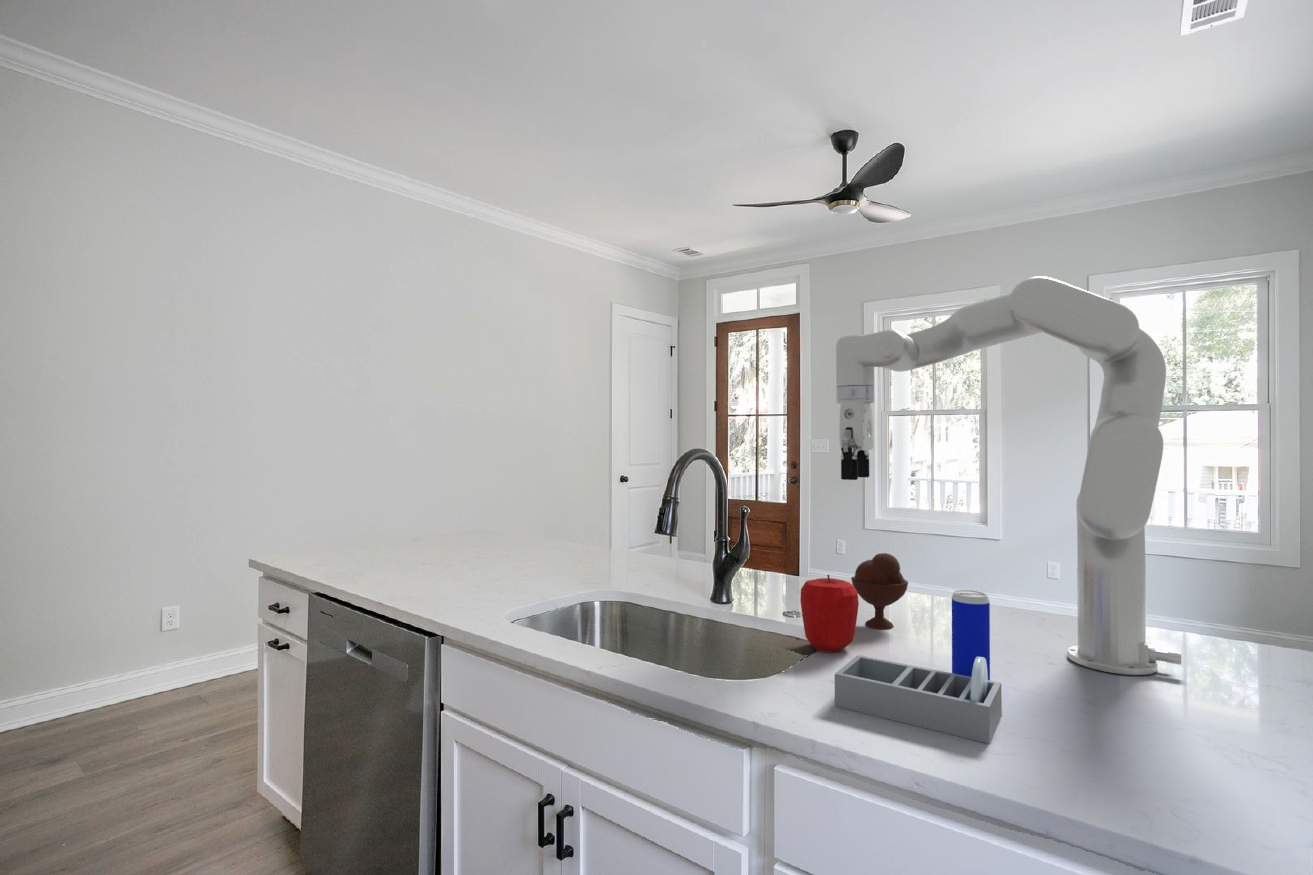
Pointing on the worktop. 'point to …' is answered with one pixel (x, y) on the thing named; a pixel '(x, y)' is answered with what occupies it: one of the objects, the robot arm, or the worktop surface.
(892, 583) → the ice cream bowl
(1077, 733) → the worktop surface
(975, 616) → the beverage can
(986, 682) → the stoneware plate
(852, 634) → the apple
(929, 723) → the dish rack
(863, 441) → the robot arm
